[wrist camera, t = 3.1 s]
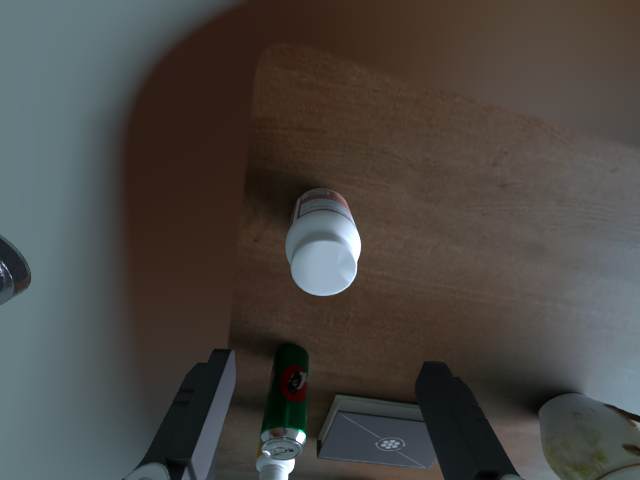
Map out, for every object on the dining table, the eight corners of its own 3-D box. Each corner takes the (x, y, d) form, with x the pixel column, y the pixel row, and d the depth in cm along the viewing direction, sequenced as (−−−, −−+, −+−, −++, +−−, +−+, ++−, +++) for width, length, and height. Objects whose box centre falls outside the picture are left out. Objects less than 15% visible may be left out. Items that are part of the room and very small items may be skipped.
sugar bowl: (552, 367, 39) (675, 498, 26) (640, 372, 40) (804, 502, 26) (499, 435, 48) (571, 560, 34) (572, 438, 49) (670, 561, 35)
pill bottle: (323, 249, 29) (327, 317, 19) (281, 217, 27) (261, 275, 17) (361, 211, 27) (386, 265, 17) (318, 174, 25) (319, 211, 15)
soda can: (270, 344, 36) (251, 441, 25) (304, 339, 36) (300, 435, 25) (279, 367, 38) (265, 465, 27) (312, 362, 38) (310, 460, 27)
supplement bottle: (259, 410, 43) (243, 489, 34) (277, 394, 41) (266, 473, 32) (285, 421, 45) (277, 499, 36) (304, 406, 43) (301, 485, 34)
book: (316, 439, 48) (316, 459, 45) (336, 392, 41) (337, 411, 38) (421, 451, 50) (427, 470, 47) (455, 408, 44) (464, 427, 41)
